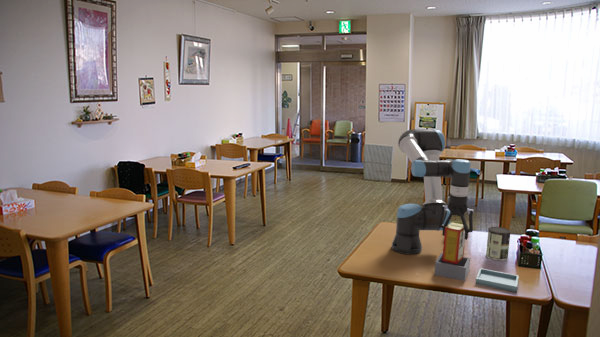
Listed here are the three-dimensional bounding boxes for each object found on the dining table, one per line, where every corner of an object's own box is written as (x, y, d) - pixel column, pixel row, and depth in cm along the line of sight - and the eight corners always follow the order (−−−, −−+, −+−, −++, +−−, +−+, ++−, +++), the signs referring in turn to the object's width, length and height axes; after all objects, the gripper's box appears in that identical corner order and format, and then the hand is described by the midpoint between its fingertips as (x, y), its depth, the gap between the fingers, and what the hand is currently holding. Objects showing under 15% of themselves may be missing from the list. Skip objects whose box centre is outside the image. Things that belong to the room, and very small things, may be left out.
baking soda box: (456, 264, 201) (460, 229, 198) (442, 260, 205) (445, 226, 202) (463, 257, 209) (466, 224, 205) (449, 254, 212) (452, 221, 209)
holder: (434, 274, 204) (435, 262, 203) (440, 264, 216) (441, 252, 215) (464, 281, 198) (465, 268, 197) (469, 270, 210) (470, 258, 209)
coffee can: (505, 254, 232) (508, 227, 229) (510, 261, 222) (513, 233, 219) (483, 252, 234) (486, 225, 231) (487, 259, 224) (490, 232, 221)
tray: (475, 283, 196) (476, 278, 195) (479, 273, 207) (479, 268, 207) (516, 292, 188) (517, 286, 188) (518, 280, 200) (518, 275, 199)
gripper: (433, 193, 202) (429, 242, 207) (481, 199, 193) (476, 251, 197) (437, 190, 209) (433, 237, 213) (483, 196, 199) (478, 245, 204)
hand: (454, 244), depth 205 cm, fingers closed on baking soda box, 7 cm apart
